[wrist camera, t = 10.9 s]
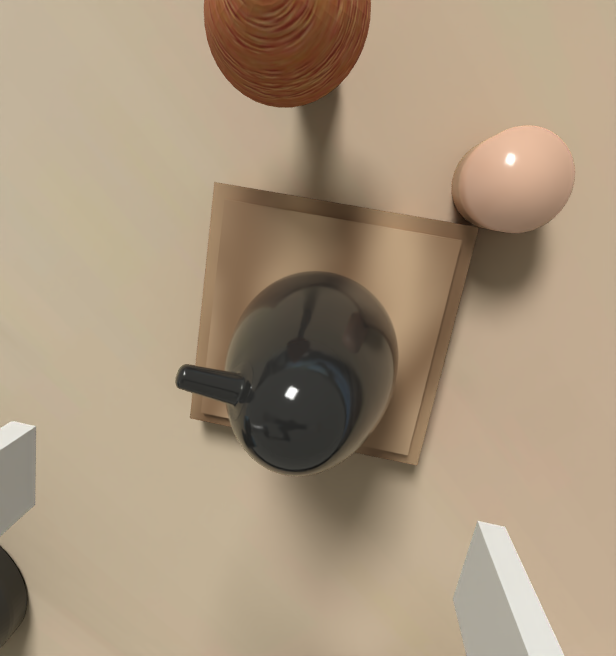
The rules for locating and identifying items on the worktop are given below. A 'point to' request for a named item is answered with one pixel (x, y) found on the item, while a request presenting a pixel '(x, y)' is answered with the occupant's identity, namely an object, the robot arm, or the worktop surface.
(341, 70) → the mushroom
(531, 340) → the worktop surface
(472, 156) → the pink rounded glossy part
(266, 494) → the worktop surface
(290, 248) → the walnut tray
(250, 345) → the pump dispenser
